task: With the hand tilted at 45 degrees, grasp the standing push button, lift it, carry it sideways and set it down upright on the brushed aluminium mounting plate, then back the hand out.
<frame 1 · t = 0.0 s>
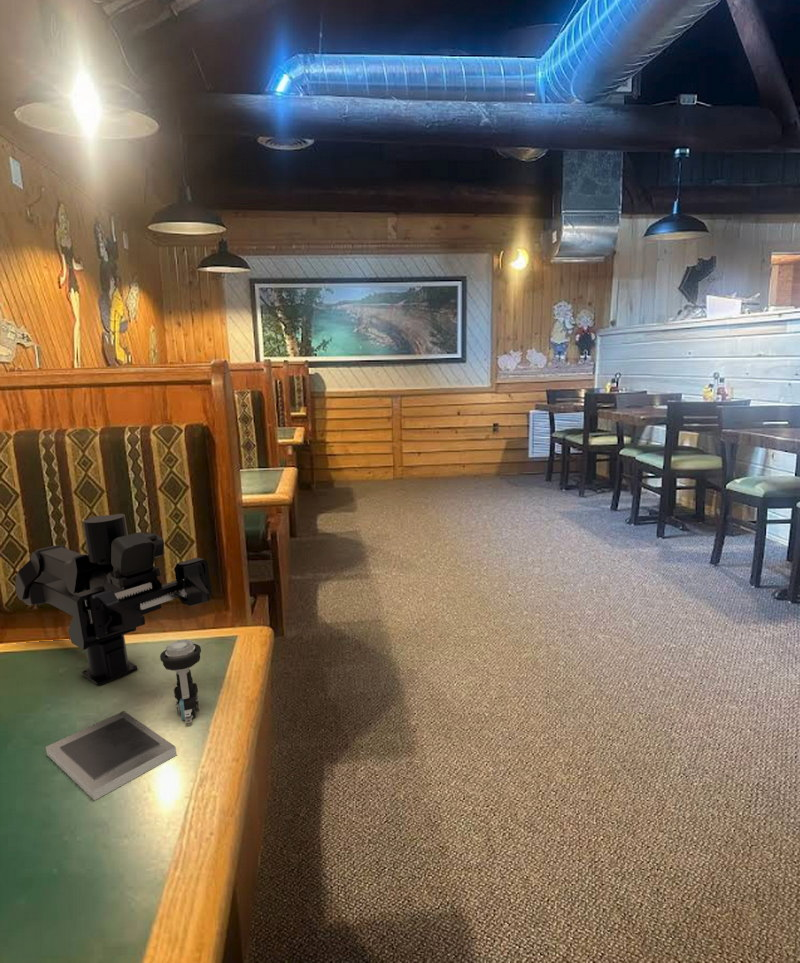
hand: (177, 608, 79), 17 cm above the table, tool horizontal, fingers open, 9 cm apart
mounting plate: (111, 755, 76), on the table
push button: (188, 715, 84), on the table
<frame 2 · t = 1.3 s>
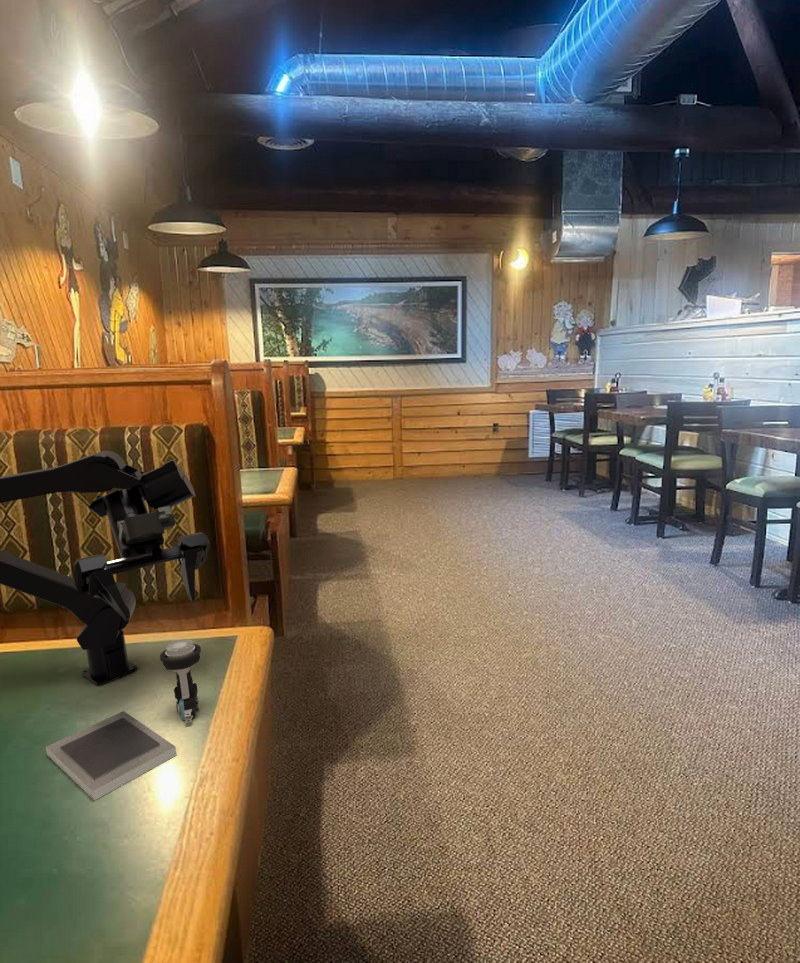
hand: (161, 609, 87), 14 cm above the table, tool tilted 45°, fingers open, 9 cm apart
nothing on the table moved.
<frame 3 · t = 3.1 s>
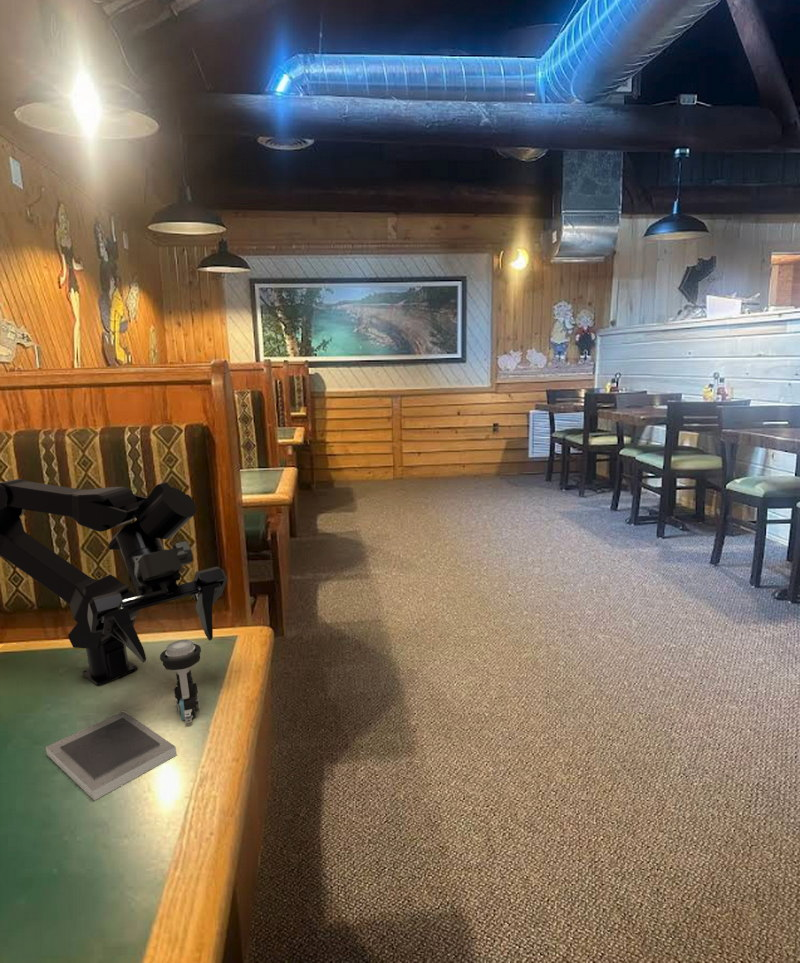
hand: (178, 649, 84), 9 cm above the table, tool tilted 45°, fingers open, 9 cm apart
nothing on the table moved.
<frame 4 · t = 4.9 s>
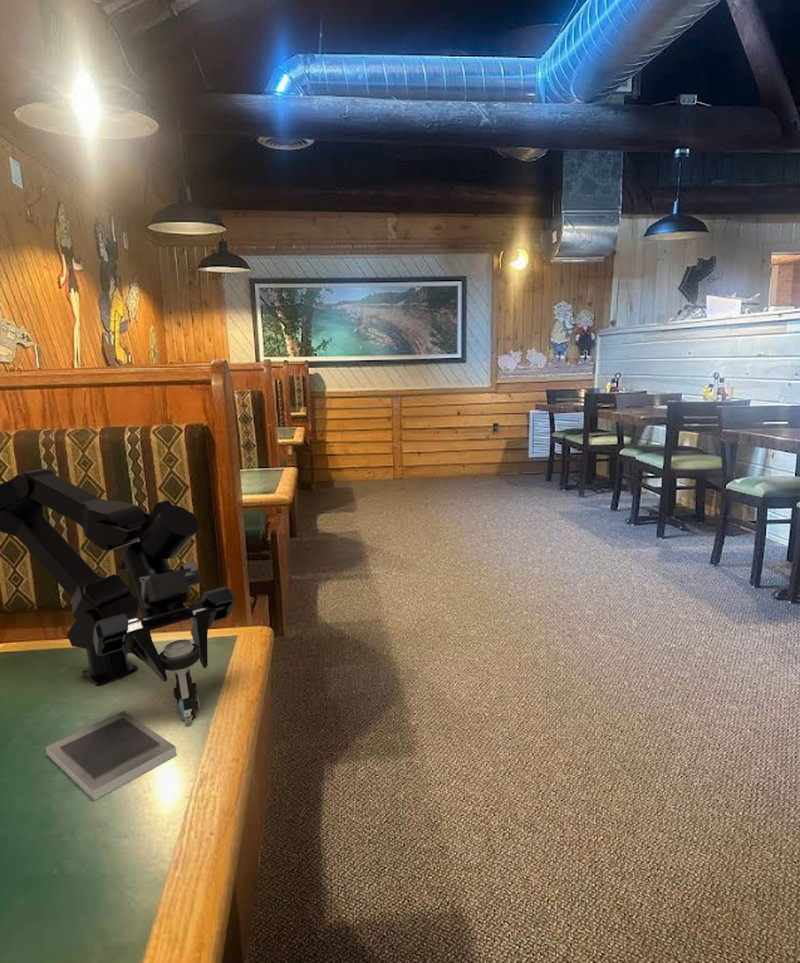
hand: (186, 673, 82), 7 cm above the table, tool tilted 45°, fingers closed on push button, 5 cm apart
push button: (188, 714, 84), on the table, touching gripper
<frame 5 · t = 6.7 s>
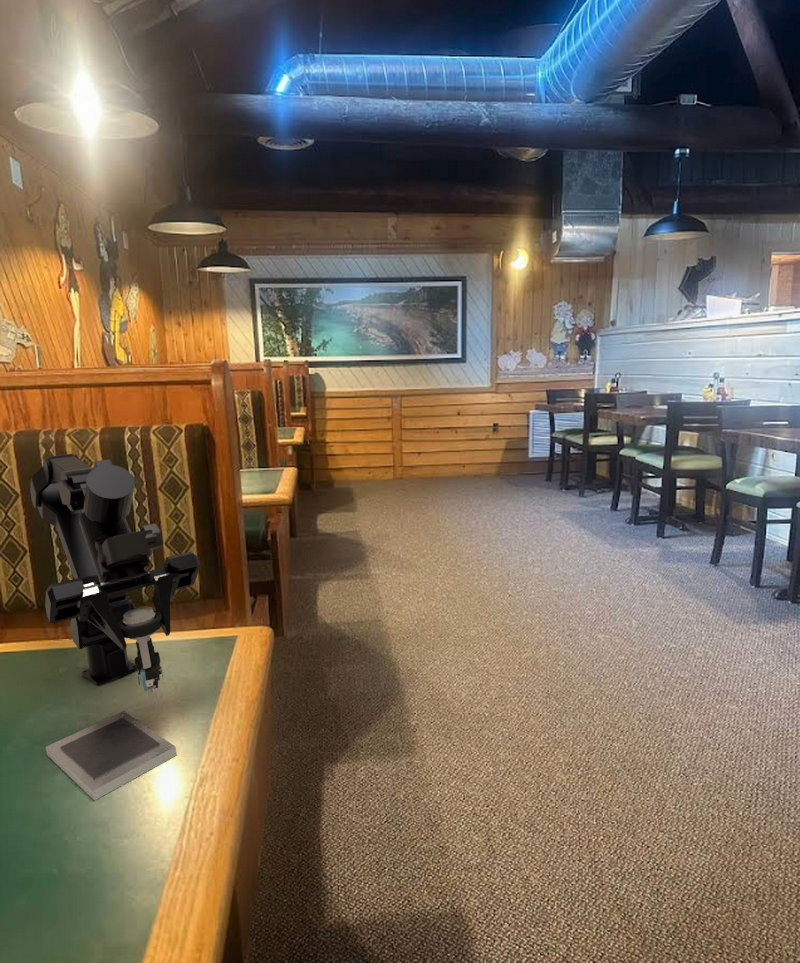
hand: (147, 641, 77), 13 cm above the table, tool tilted 45°, fingers closed on push button, 5 cm apart
push button: (151, 685, 80), point 6 cm above the table, touching gripper
when the fingers open (9 cm above the table, at t = 8.8 s): push button drops 1 cm, resting on mounting plate.
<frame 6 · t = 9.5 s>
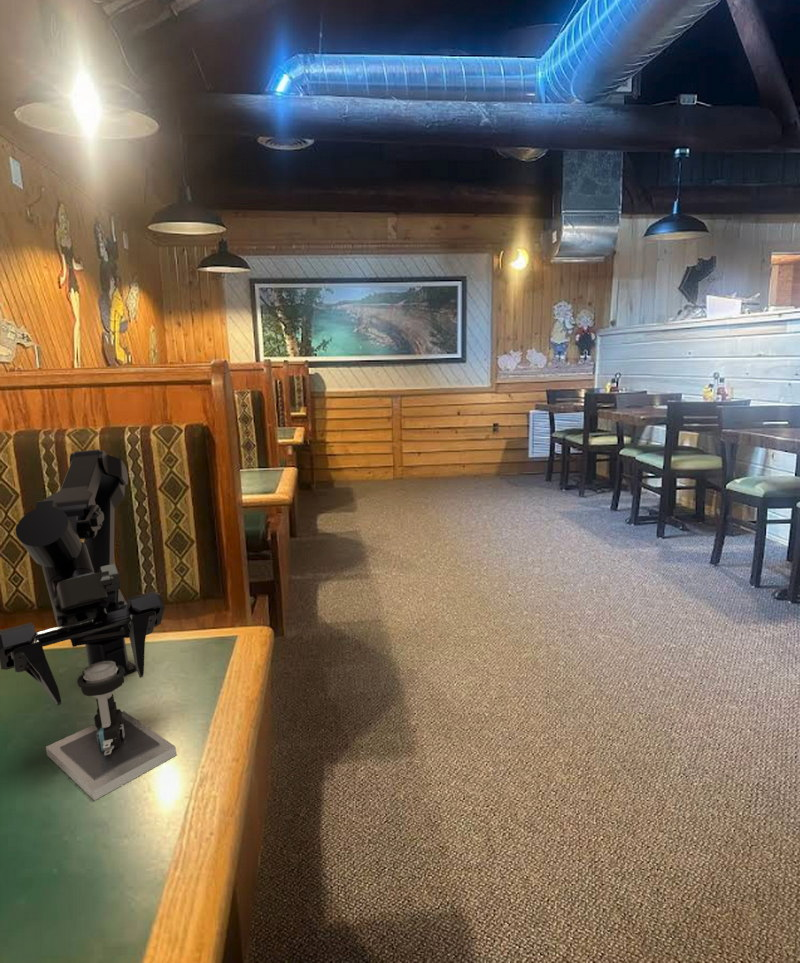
hand: (102, 689, 73), 10 cm above the table, tool tilted 45°, fingers open, 9 cm apart
push button: (111, 745, 76), point 1 cm above the table, touching mounting plate
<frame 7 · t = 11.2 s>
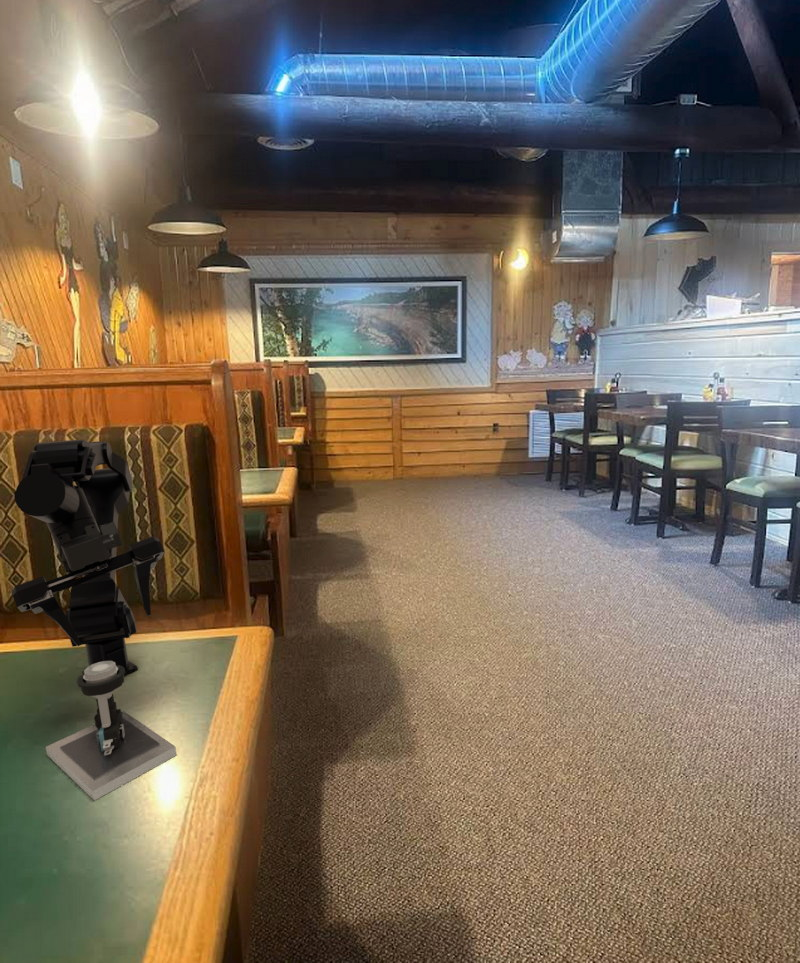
hand: (115, 630, 82), 13 cm above the table, tool tilted 25°, fingers open, 9 cm apart
nothing on the table moved.
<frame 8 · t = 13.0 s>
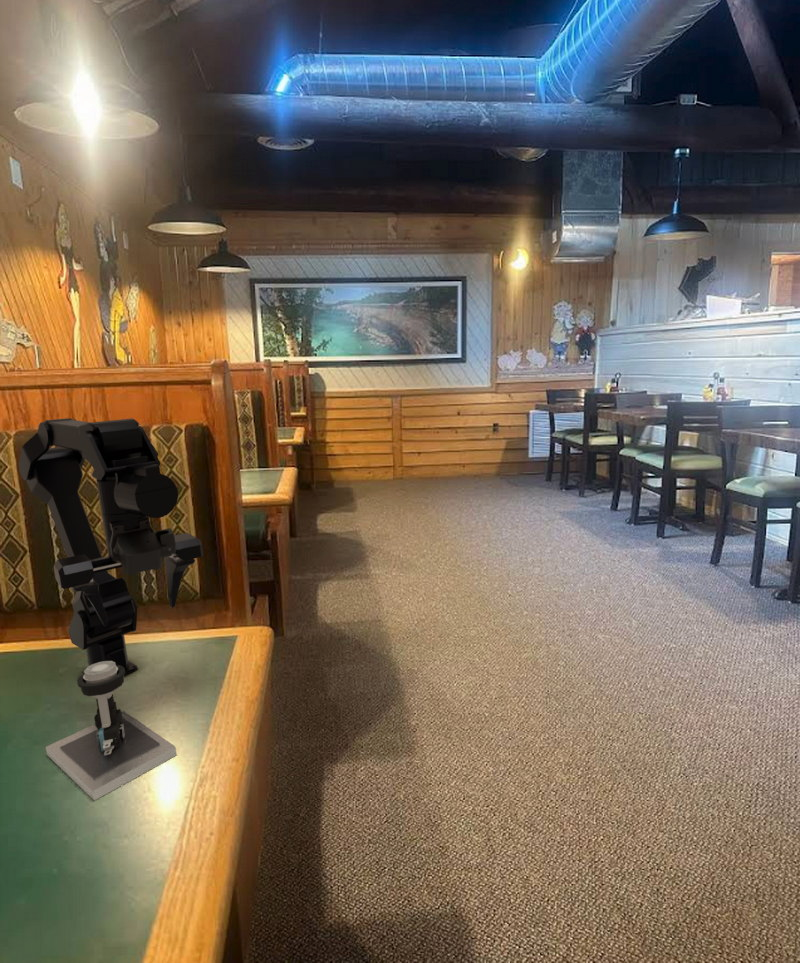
hand: (140, 615, 87), 13 cm above the table, tool pointing down, fingers open, 9 cm apart
nothing on the table moved.
at the end: push button 0.4 cm off-centre on the mounting plate, point 1.2 cm above the mounting plate's base; push button tilted 0°; the gripper is holding nothing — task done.
